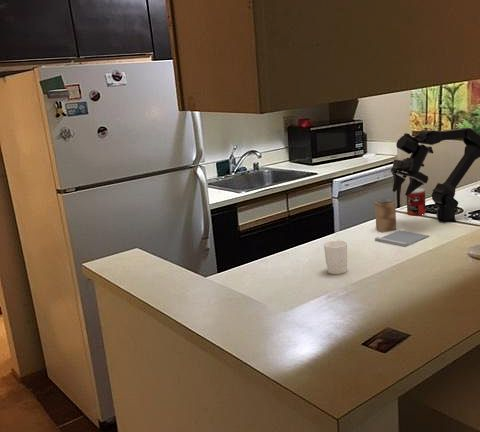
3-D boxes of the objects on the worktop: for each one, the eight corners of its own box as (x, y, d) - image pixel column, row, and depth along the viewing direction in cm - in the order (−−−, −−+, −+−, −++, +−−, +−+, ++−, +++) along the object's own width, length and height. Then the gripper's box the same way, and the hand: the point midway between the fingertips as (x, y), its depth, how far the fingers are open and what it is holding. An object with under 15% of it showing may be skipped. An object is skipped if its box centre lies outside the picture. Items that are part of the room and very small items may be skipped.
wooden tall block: (390, 227, 235) (389, 198, 232) (396, 230, 229) (395, 201, 226) (376, 229, 234) (374, 200, 231) (381, 232, 229) (380, 203, 226)
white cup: (343, 276, 187) (341, 248, 184) (322, 273, 191) (320, 246, 189) (352, 268, 193) (350, 240, 191) (331, 266, 197) (329, 239, 195)
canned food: (403, 213, 252) (402, 190, 249) (417, 210, 255) (416, 187, 253) (415, 216, 245) (414, 192, 243) (429, 213, 248) (428, 189, 246)
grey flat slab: (399, 231, 228) (399, 228, 228) (429, 236, 217) (429, 233, 217) (375, 240, 219) (375, 238, 219) (404, 247, 208) (404, 244, 208)
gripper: (389, 148, 231) (372, 182, 232) (415, 152, 213) (397, 189, 214) (409, 159, 235) (392, 192, 236) (436, 164, 217) (418, 200, 218)
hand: (399, 193), depth 226 cm, fingers open, 9 cm apart
